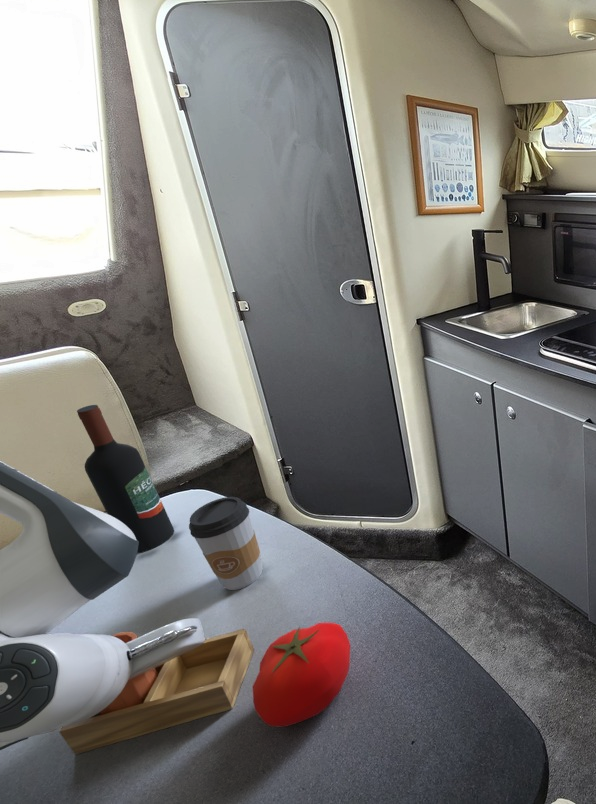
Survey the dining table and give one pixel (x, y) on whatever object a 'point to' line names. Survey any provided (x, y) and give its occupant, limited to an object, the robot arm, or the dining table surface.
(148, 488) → the wine bottle
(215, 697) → the tray
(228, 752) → the dining table surface
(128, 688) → the tumbler
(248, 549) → the coffee cup
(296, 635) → the tomato
